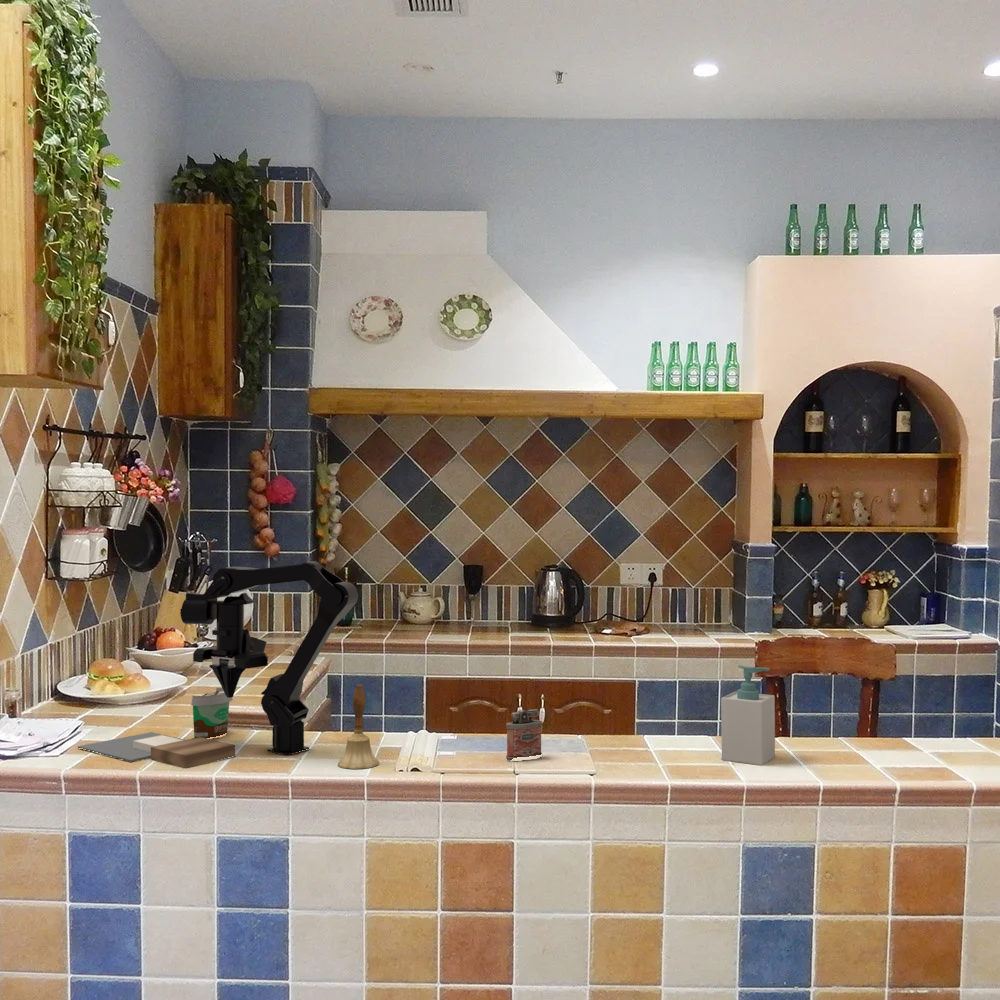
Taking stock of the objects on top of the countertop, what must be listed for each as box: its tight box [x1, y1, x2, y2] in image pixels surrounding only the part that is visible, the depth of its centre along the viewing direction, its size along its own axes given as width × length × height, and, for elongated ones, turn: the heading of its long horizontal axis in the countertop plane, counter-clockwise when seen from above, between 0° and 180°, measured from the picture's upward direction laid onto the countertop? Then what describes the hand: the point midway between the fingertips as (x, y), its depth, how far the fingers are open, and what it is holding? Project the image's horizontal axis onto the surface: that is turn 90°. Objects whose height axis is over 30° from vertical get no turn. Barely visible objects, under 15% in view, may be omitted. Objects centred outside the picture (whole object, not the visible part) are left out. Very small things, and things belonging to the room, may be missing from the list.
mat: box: [77, 731, 186, 763], centre depth 215 cm, size 20×18×1 cm
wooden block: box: [150, 737, 236, 769], centre depth 206 cm, size 12×12×2 cm
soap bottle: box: [720, 665, 776, 766], centre depth 205 cm, size 9×9×19 cm
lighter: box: [505, 709, 543, 760], centre depth 205 cm, size 8×3×10 cm, turn 117°
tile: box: [133, 734, 183, 752], centre depth 212 cm, size 10×7×2 cm
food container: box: [190, 687, 233, 738], centre depth 227 cm, size 12×6×10 cm, turn 168°
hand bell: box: [337, 684, 380, 770], centre depth 201 cm, size 8×8×16 cm
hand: (229, 697), depth 214 cm, fingers closed
